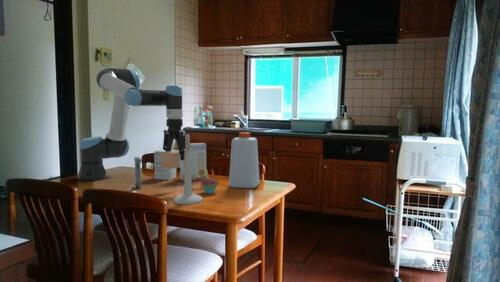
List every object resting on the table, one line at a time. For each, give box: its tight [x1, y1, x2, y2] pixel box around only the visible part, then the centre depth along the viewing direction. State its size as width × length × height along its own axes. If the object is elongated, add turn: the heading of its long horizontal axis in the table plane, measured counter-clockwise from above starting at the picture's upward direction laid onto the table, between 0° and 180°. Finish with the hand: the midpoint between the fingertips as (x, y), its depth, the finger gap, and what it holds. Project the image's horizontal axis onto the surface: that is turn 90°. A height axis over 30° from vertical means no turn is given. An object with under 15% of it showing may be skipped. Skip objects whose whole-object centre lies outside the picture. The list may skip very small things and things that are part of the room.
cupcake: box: [200, 168, 219, 194], centre depth 180 cm, size 9×8×12 cm
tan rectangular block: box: [161, 149, 186, 169], centre depth 177 cm, size 8×12×7 cm
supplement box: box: [153, 149, 177, 181], centre depth 208 cm, size 10×9×17 cm
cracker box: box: [179, 142, 207, 182], centre depth 207 cm, size 14×6×21 cm, turn 115°
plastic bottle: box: [228, 131, 261, 189], centre depth 195 cm, size 15×15×28 cm
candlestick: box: [173, 132, 204, 205], centre depth 163 cm, size 13×13×30 cm
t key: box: [133, 156, 142, 190], centre depth 181 cm, size 2×10×15 cm, turn 25°
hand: (175, 165), depth 178 cm, fingers closed on tan rectangular block, 8 cm apart
